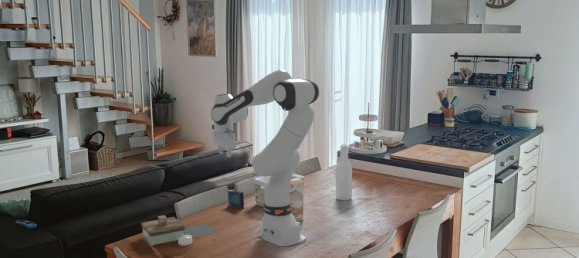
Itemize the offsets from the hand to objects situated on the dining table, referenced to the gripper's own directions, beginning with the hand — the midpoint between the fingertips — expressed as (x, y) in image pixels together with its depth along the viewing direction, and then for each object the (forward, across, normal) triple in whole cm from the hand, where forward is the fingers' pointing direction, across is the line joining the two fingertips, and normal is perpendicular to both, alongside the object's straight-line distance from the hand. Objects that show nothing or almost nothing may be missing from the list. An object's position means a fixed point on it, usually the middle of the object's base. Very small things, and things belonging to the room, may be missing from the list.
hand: (224, 155), depth 255 cm
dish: (+31, -13, +36) cm, 49 cm away
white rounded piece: (+31, -25, +30) cm, 50 cm away
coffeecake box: (+31, -20, -23) cm, 44 cm away
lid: (+26, -13, +36) cm, 46 cm away
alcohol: (+31, -6, -67) cm, 74 cm away
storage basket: (+31, +5, -32) cm, 45 cm away
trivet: (+31, -14, +20) cm, 40 cm away
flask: (+31, +11, -10) cm, 35 cm away
